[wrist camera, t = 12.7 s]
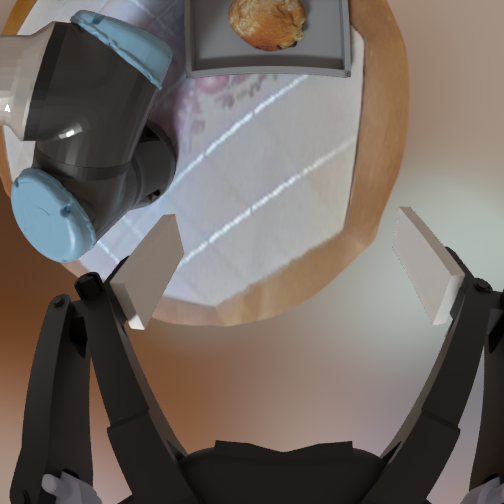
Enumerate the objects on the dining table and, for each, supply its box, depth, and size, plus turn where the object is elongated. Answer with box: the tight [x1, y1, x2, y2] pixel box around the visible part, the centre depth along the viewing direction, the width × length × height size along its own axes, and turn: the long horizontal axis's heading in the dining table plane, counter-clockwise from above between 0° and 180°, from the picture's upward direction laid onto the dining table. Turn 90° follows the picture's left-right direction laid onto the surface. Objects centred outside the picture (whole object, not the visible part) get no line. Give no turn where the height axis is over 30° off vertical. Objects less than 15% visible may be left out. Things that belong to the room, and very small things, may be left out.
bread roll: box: [228, 0, 307, 52], centre depth 26 cm, size 10×10×8 cm
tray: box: [184, 0, 351, 78], centre depth 27 cm, size 22×16×3 cm
